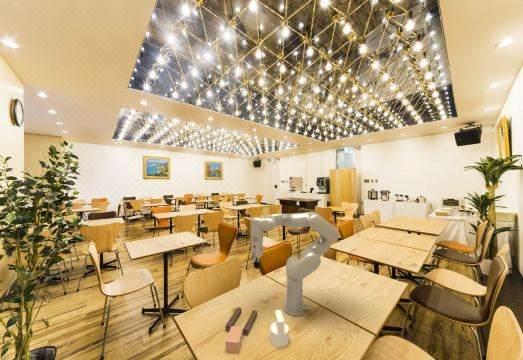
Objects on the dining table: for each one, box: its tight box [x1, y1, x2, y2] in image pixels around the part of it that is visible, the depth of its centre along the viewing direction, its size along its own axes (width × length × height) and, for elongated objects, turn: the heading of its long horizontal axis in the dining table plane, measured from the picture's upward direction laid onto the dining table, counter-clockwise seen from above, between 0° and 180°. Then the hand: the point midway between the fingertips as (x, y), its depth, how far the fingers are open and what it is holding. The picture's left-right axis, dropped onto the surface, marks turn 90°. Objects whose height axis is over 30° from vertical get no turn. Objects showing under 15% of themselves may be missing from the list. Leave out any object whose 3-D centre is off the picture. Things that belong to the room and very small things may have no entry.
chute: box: [225, 306, 258, 337], centre depth 115 cm, size 12×16×3 cm
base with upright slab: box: [269, 309, 290, 348], centre depth 103 cm, size 9×9×12 cm
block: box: [225, 325, 244, 354], centre depth 101 cm, size 6×10×5 cm, turn 173°
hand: (256, 267), depth 127 cm, fingers closed
